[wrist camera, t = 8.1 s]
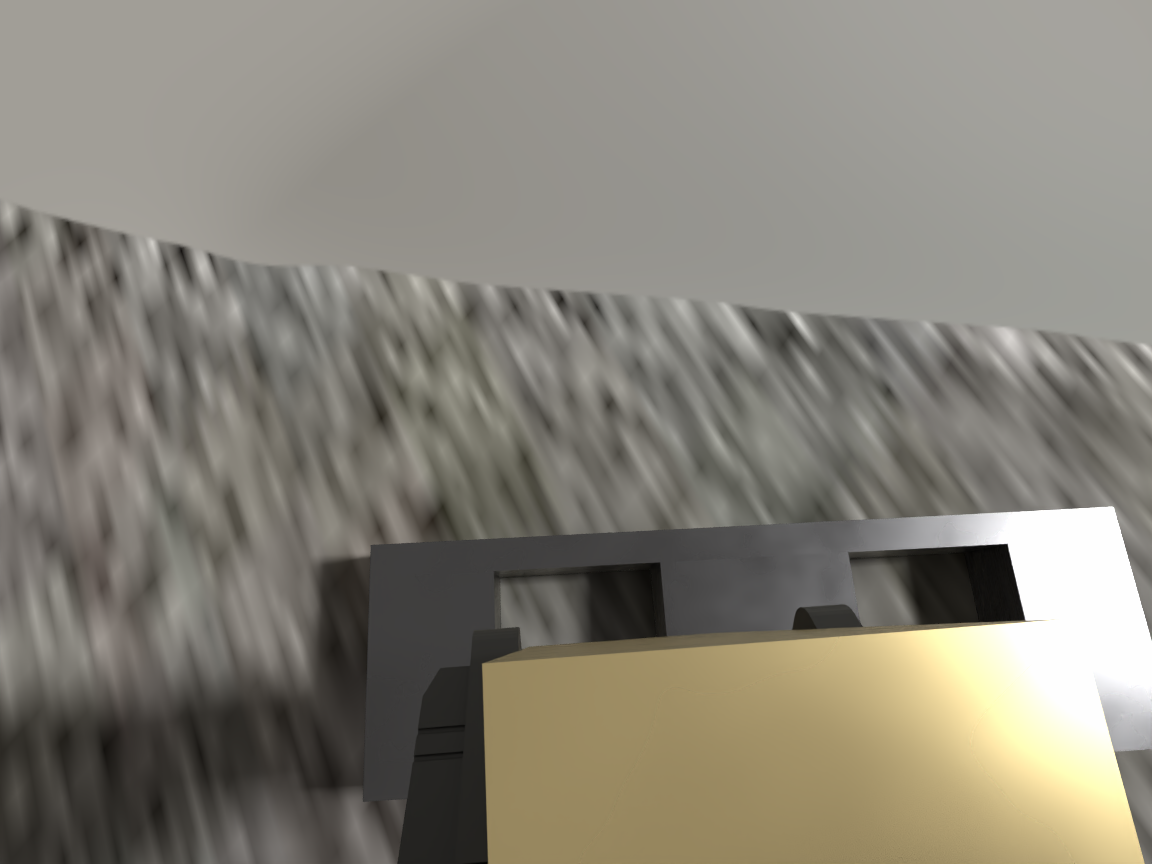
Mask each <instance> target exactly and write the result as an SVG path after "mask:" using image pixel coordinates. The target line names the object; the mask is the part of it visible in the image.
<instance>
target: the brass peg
mask: <svg viewBox="0 0 1152 864" xmlns="http://www.w3.org/2000/svg"><path fill="white" fill-rule="evenodd" d="M482 672H483V706H484V740H485V774H486V807H487V841H488V864H1145V863H1144V860H1143V856H1142V853H1141V849H1140V845H1139V842H1138V838H1137V834H1136V831H1135V827H1134V823H1133V820H1132V816H1131V812H1130V809H1129V805H1128V801H1127V798H1126V794H1125V790H1124V787H1123V783H1122V779H1121V776H1120V772H1119V769H1118V765H1117V761H1116V758H1115V754H1114V750H1113V747H1112V743H1111V739H1110V736H1109V732H1108V728H1107V725H1106V721H1105V717H1104V714H1103V710H1102V706H1101V703H1100V699H1099V695H1098V692H1097V688H1096V685H1095V681H1094V677H1093V674H1092V670H1091V666H1090V663H1089V659H1088V655H1087V652H1086V648H1085V644H1084V641H1083V637H1082V633H1081V630H1080V626H1079V622H1078V619H1053V620H1028V621H1002V622H977V623H952V624H927V625H902V626H877V627H852V628H827V629H806V630H777V631H751V632H726V633H707V634H694V635H680V636H667V637H654V638H640V639H627V640H614V641H600V642H587V643H573V644H560V645H547V646H533V647H528V648H525V649H522V650H521V651H518V652H514V653H511V654H508V655H505V656H502V657H499V658H497V659H494V660H491V661H488V662H485V663H482Z"/></svg>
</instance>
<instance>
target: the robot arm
mask: <svg viewBox="0 0 1152 864" xmlns="http://www.w3.org/2000/svg"><path fill="white" fill-rule="evenodd" d="M852 627H863V626H862V625H861V623H860V622H859V620H858V618H857V617H856V615H855V613H854V612H853V611H852V609H851V608H850V607H849V606H847V605H845V604H839V605H825V606H812V607H799V608H798V609H797V611H796V613H795V616H794V622H793V628H792V630H806V629H827V628H852ZM518 651H521V638H520V629H519V627H515V628H502V629H488V630H475V631H473V636H472V648H471V661H470V666H459V667H446V668H440V669H439V671H438V673H437V674H436V676H435V677H434V679H433V681H432V682H431V684H430V685H429V687H428V689H427V690H426V692H425V693H424V695H423V697H422V704H421V710H420V717H419V724H418V735H417V737H416V744H415V750H414V762H413V764H412V770H411V777H410V784H409V790H408V797H407V804H406V810H405V817H404V824H403V830H402V837H401V844H400V850H399V857H398V864H488V841H487V807H486V774H485V740H484V706H483V672H482V663H485V662H488V661H491V660H494V659H497V658H499V657H502V656H505V655H508V654H511V653H514V652H518Z"/></svg>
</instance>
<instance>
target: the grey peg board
mask: <svg viewBox="0 0 1152 864" xmlns="http://www.w3.org/2000/svg"><path fill="white" fill-rule="evenodd" d="M947 553H965V557H966V561H967V566H968V571H969V575H970V580H971V585H972V589H973V594H974V598H975V603H976V608H977V612H978V617H979V622H1002V621H1028V620H1053V619H1078V622H1079V626H1080V630H1081V633H1082V637H1083V641H1084V644H1085V648H1086V652H1087V655H1088V659H1089V663H1090V666H1091V670H1092V674H1093V677H1094V681H1095V685H1096V688H1097V692H1098V695H1099V699H1100V703H1101V706H1102V710H1103V714H1104V717H1105V721H1106V725H1107V728H1108V732H1109V736H1110V739H1111V743H1112V747H1113V750H1114V751H1128V750H1143V749H1152V642H1151V638H1150V635H1149V631H1148V627H1147V624H1146V620H1145V617H1144V613H1143V610H1142V606H1141V603H1140V599H1139V596H1138V592H1137V589H1136V585H1135V582H1134V578H1133V575H1132V571H1131V568H1130V564H1129V560H1128V557H1127V553H1126V550H1125V546H1124V543H1123V539H1122V536H1121V532H1120V529H1119V525H1118V522H1117V518H1116V515H1115V511H1114V508H1113V507H1103V508H1084V509H1065V510H1045V511H1026V512H1006V513H987V514H967V515H948V516H928V517H909V518H889V519H870V520H850V521H831V522H811V523H792V524H772V525H753V526H733V527H714V528H694V529H675V530H655V531H636V532H616V533H597V534H577V535H558V536H538V537H519V538H499V539H480V540H461V541H441V542H422V543H402V544H383V545H371V556H370V588H369V621H368V653H367V686H366V718H365V751H364V783H363V802H367V801H381V800H396V799H407V797H408V790H409V784H410V777H411V770H412V764H413V762H414V750H415V744H416V737H417V735H418V724H419V717H420V710H421V704H422V697H423V695H424V693H425V692H426V690H427V689H428V687H429V685H430V684H431V682H432V681H433V679H434V677H435V676H436V674H437V673H438V671H439V669H440V668H446V667H459V666H470V661H471V648H472V636H473V631H475V630H488V629H501V605H500V577H519V576H538V575H556V574H575V573H593V572H612V571H631V570H649V569H650V574H651V585H652V597H653V609H654V621H655V632H656V637H667V636H680V635H694V634H707V633H726V632H751V631H777V630H792V628H793V622H794V616H795V613H796V611H797V609H798V608H799V607H812V606H825V605H839V604H845V605H847V606H849V607H850V608H851V609H852V611H853V612H854V613H855V615H856V617H857V618H858V620H859V614H858V608H857V602H856V596H855V590H854V584H853V578H852V572H851V566H850V560H849V559H854V558H873V557H891V556H910V555H928V554H947ZM859 622H860V620H859Z"/></svg>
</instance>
